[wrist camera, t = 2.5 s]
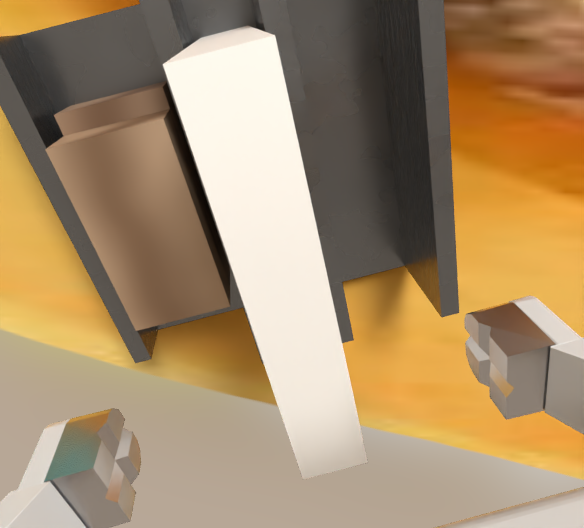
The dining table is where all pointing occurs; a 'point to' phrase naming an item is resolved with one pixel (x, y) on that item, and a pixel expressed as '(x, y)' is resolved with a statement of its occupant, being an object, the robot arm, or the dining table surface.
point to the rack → (307, 119)
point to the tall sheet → (270, 235)
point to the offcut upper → (144, 217)
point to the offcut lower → (128, 108)
